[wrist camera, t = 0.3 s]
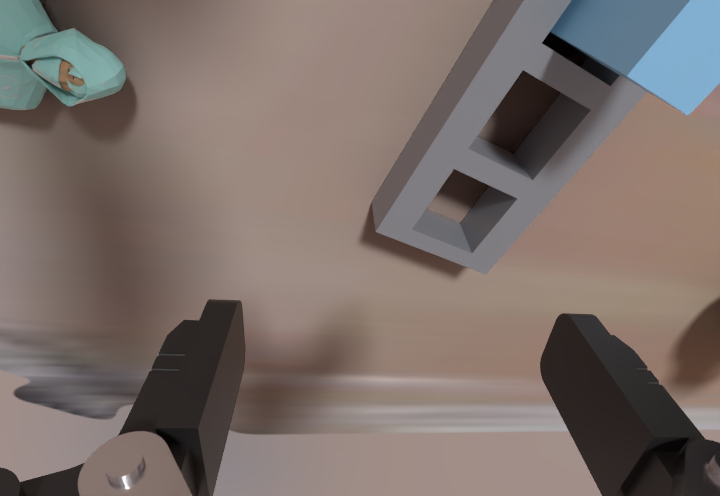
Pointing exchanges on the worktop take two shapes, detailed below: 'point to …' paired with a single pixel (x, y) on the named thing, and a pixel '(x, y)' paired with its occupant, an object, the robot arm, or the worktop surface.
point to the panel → (488, 161)
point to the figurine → (50, 60)
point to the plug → (650, 44)
